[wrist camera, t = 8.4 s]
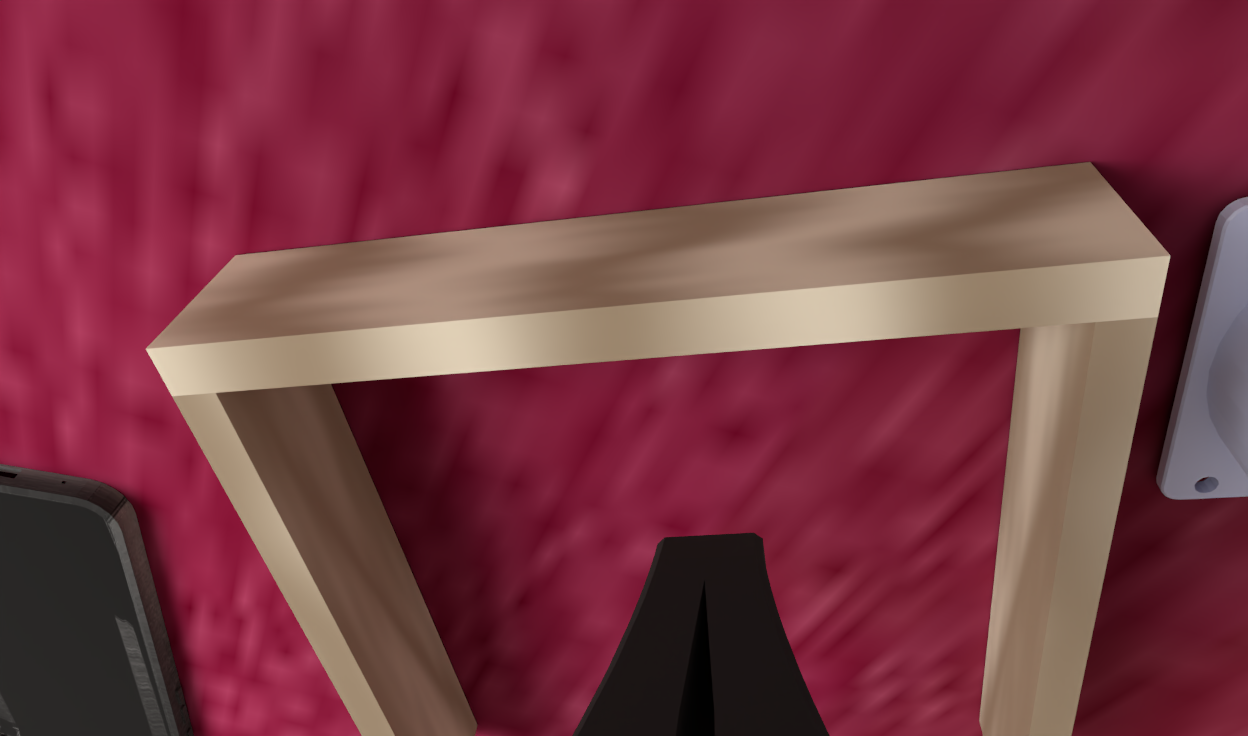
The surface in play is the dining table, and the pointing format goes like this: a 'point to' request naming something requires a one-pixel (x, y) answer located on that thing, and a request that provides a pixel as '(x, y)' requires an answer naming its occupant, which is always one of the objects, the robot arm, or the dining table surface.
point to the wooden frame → (673, 326)
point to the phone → (80, 615)
